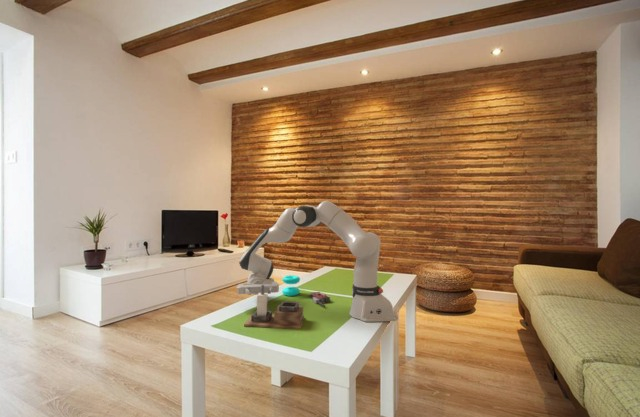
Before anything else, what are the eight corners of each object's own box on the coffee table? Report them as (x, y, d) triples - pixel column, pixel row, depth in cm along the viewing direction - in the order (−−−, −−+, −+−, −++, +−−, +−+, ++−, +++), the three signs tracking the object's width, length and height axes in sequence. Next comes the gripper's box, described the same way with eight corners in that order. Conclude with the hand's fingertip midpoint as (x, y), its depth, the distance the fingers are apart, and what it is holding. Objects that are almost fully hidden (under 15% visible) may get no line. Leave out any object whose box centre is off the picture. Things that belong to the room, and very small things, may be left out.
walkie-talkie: (305, 298, 177) (322, 309, 159) (306, 290, 177) (323, 300, 159) (319, 296, 181) (337, 306, 164) (319, 288, 181) (338, 298, 163)
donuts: (279, 278, 180) (286, 274, 190) (279, 295, 180) (286, 291, 190) (296, 279, 177) (302, 275, 187) (296, 297, 177) (302, 292, 187)
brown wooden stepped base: (304, 317, 145) (304, 300, 145) (300, 329, 132) (300, 309, 132) (252, 315, 147) (252, 298, 147) (244, 326, 134) (244, 307, 134)
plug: (267, 317, 142) (267, 283, 142) (265, 321, 138) (266, 286, 137) (258, 317, 142) (258, 283, 142) (256, 321, 137) (257, 286, 137)
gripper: (236, 280, 162) (237, 287, 148) (276, 278, 167) (280, 284, 154) (236, 292, 162) (236, 300, 148) (276, 290, 167) (280, 297, 154)
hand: (259, 292), depth 151 cm, fingers open, 8 cm apart
